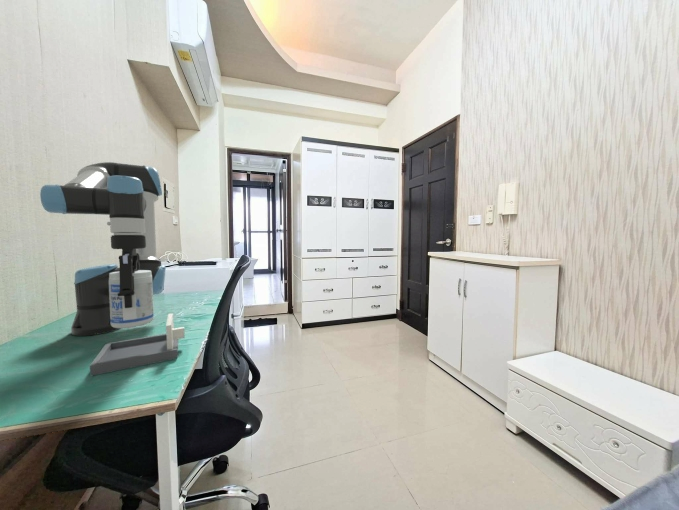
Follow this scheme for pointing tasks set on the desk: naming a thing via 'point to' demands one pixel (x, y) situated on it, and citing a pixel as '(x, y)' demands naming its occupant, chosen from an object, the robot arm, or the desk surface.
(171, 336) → the pusher
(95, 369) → the gray tray
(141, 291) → the supplement tub
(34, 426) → the desk surface
